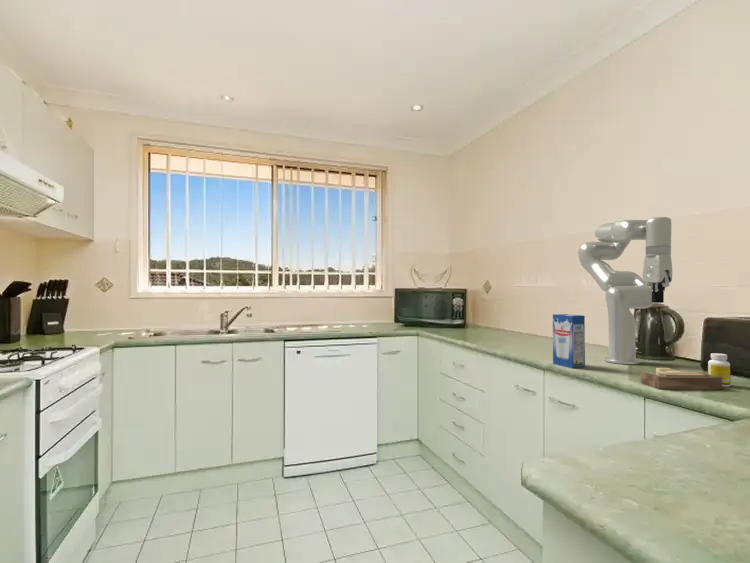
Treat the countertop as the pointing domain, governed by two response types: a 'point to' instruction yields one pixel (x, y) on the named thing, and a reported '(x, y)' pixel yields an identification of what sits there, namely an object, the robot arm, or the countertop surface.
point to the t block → (676, 373)
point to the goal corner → (682, 381)
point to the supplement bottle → (720, 368)
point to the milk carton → (569, 340)
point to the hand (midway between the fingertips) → (657, 302)
